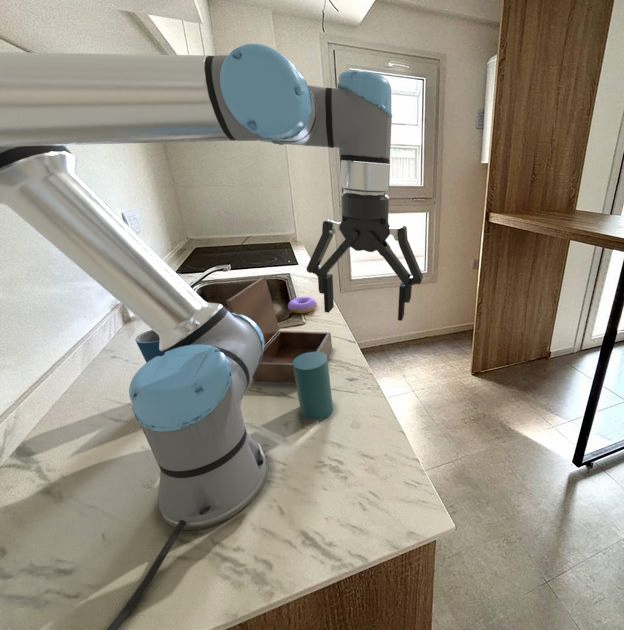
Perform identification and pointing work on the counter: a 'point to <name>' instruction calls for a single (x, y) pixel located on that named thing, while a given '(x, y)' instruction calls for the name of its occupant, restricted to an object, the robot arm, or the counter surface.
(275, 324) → the lid
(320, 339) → the chest
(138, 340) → the cup
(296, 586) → the counter surface
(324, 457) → the counter surface
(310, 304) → the donut
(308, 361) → the can
